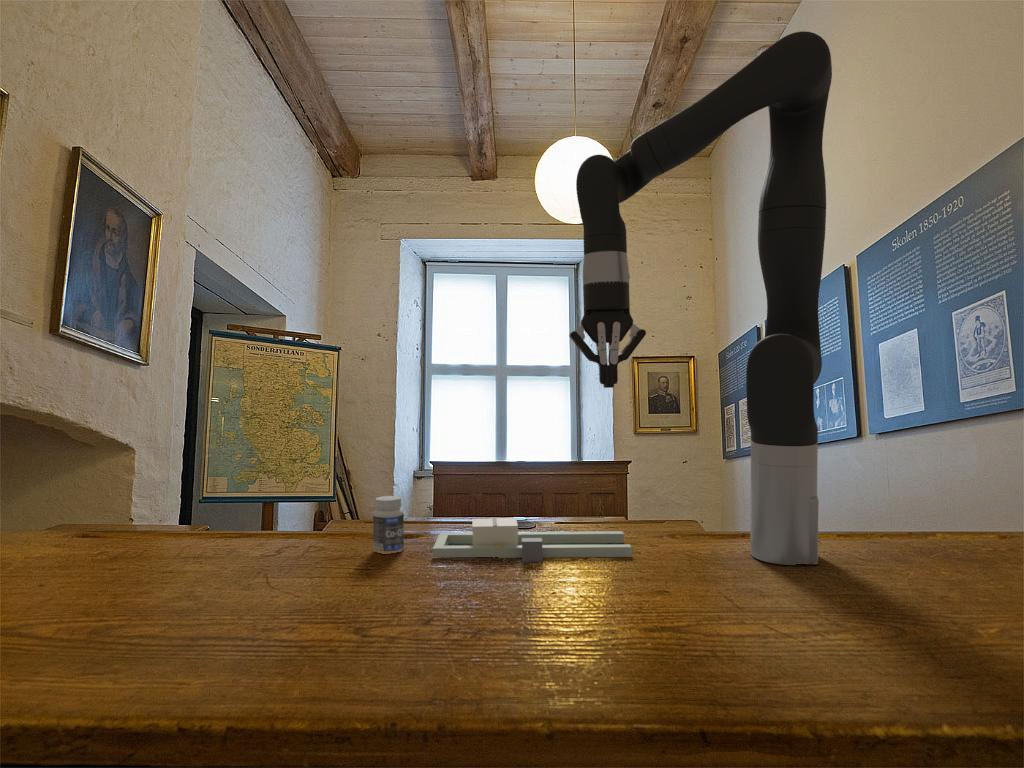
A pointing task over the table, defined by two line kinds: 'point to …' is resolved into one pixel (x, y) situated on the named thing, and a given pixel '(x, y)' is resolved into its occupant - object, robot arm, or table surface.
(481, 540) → the block
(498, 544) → the balance mark
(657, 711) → the table surface
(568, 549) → the slotted beam
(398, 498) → the pill bottle
